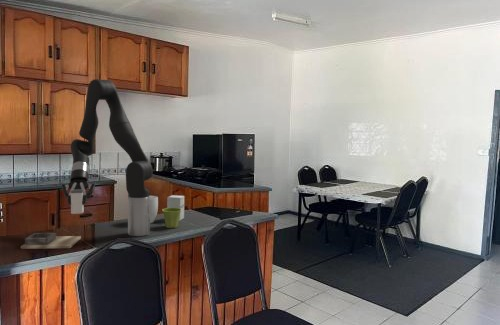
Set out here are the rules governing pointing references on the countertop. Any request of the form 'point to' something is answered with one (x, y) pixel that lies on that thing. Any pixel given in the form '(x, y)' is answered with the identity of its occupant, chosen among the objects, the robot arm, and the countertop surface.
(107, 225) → the countertop surface
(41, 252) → the countertop surface
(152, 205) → the mug
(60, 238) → the board
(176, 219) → the plant pot
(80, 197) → the block
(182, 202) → the supplement box
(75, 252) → the countertop surface
